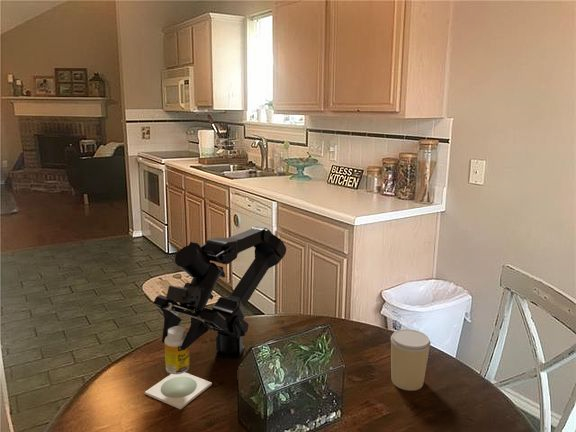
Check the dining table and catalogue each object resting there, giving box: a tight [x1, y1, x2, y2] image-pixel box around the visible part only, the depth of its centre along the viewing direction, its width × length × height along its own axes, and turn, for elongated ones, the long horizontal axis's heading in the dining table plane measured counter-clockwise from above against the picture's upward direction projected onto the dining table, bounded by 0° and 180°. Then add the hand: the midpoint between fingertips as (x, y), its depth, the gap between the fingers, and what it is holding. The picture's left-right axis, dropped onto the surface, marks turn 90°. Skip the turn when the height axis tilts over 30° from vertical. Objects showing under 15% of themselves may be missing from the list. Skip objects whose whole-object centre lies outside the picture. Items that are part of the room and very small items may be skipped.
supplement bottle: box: [164, 325, 190, 375], centre depth 110 cm, size 6×6×10 cm
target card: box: [144, 371, 213, 410], centre depth 113 cm, size 11×11×1 cm
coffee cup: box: [390, 328, 431, 391], centre depth 116 cm, size 9×9×12 cm
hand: (172, 346), depth 109 cm, fingers closed on supplement bottle, 5 cm apart
